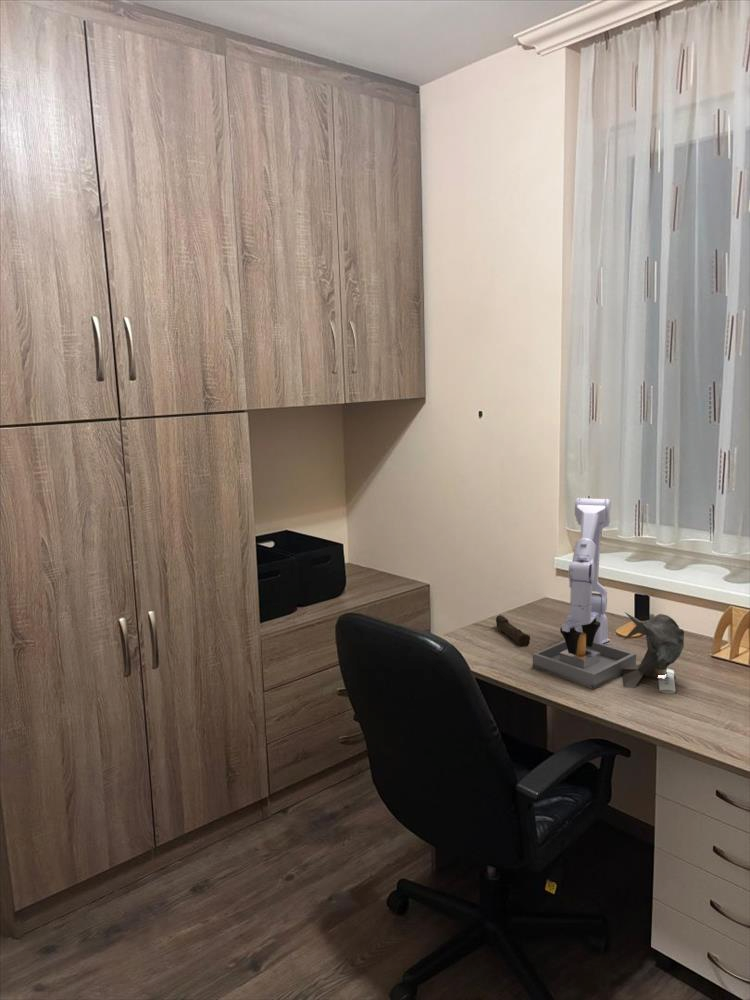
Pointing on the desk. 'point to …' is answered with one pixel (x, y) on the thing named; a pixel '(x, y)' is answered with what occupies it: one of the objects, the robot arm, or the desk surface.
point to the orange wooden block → (581, 645)
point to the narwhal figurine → (655, 648)
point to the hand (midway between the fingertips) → (580, 649)
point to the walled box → (592, 675)
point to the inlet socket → (580, 658)
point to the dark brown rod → (512, 631)
